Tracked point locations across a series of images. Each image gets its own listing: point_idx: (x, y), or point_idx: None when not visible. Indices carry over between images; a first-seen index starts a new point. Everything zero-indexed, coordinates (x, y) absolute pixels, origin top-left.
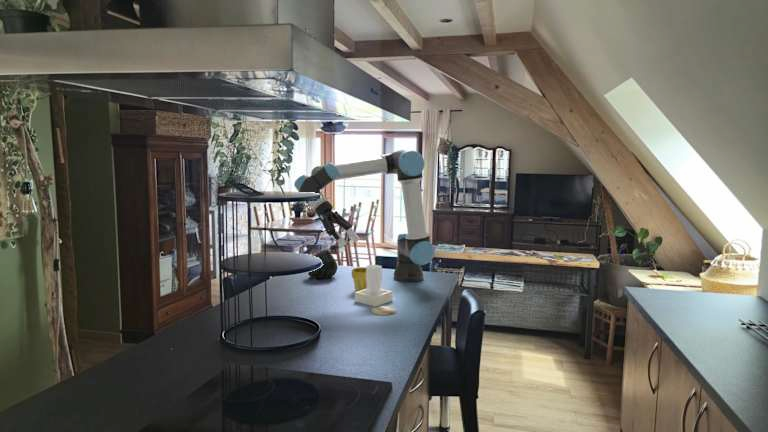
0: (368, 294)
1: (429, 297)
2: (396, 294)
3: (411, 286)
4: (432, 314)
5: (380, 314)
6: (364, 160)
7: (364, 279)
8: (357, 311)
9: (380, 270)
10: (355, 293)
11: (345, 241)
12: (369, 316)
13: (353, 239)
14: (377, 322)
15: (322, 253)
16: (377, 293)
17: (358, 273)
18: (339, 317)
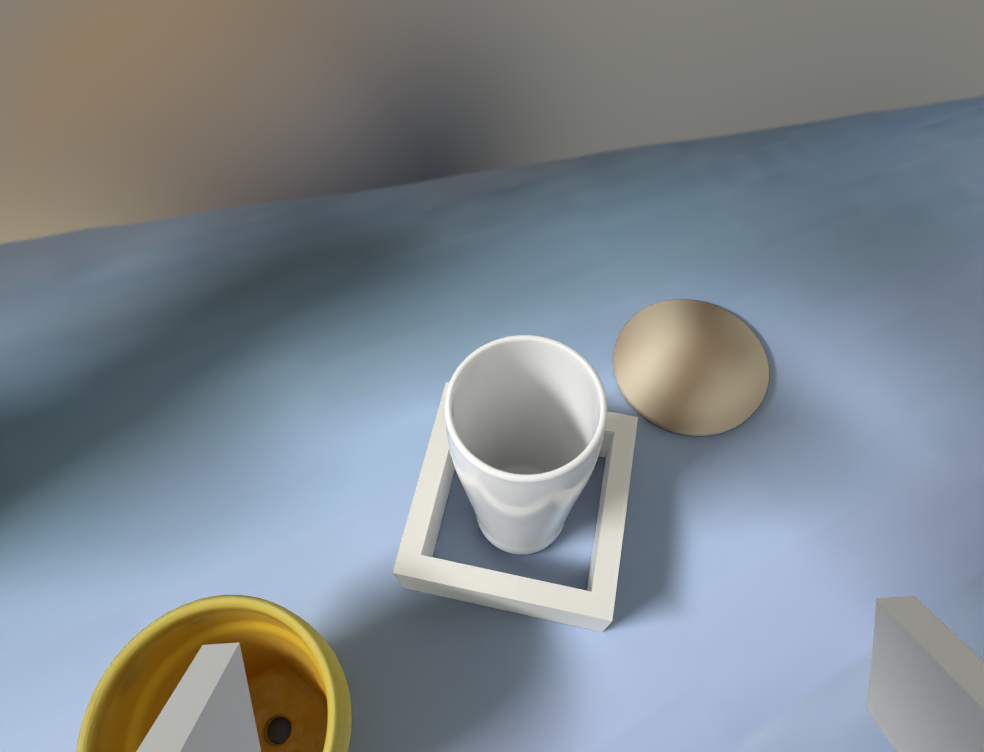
0: (609, 493)
1: (300, 256)
2: (300, 442)
3: (53, 432)
4: (594, 162)
5: (762, 352)
6: None
7: (337, 658)
8: (789, 502)
9: (535, 348)
10: (612, 615)
11: (907, 624)
12: (822, 396)
13: None
14: (877, 319)
15: None
16: (545, 450)
17: (341, 718)
18: (969, 546)
